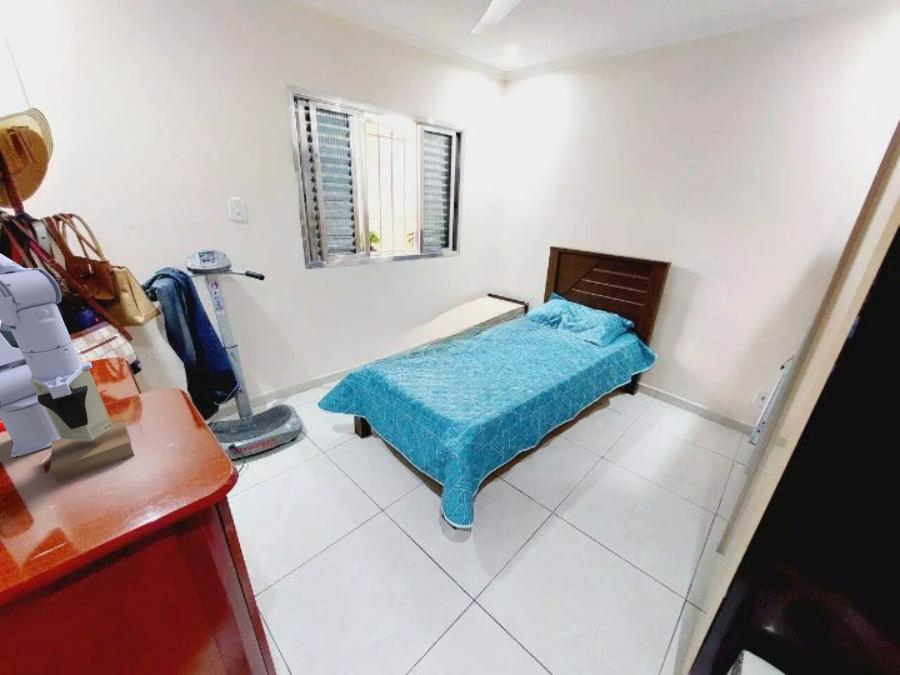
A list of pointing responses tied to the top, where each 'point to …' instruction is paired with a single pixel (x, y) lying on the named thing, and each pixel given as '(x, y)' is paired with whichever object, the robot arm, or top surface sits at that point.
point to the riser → (90, 453)
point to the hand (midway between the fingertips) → (79, 416)
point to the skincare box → (94, 408)
